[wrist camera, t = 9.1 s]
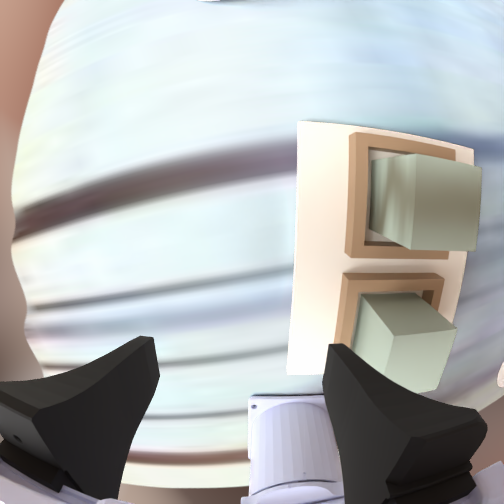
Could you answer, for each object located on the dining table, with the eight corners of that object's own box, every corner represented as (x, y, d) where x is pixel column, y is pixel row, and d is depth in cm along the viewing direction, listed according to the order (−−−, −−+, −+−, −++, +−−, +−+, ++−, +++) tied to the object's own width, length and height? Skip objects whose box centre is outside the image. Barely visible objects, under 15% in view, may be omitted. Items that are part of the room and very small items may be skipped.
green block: (424, 231, 18) (475, 251, 12) (368, 228, 18) (410, 249, 12) (427, 168, 17) (481, 167, 11) (371, 160, 17) (415, 153, 11)
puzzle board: (435, 355, 21) (472, 400, 15) (286, 367, 22) (293, 430, 15) (466, 149, 17) (526, 146, 10) (297, 123, 18) (315, 93, 11)
